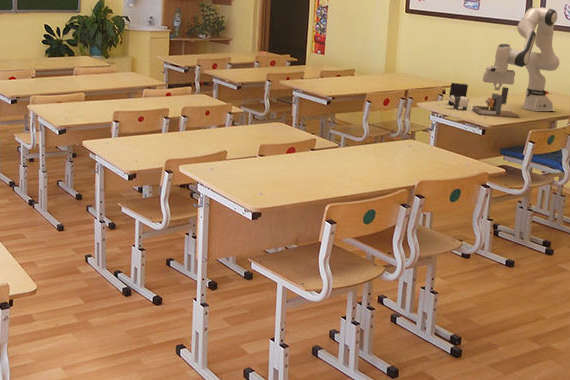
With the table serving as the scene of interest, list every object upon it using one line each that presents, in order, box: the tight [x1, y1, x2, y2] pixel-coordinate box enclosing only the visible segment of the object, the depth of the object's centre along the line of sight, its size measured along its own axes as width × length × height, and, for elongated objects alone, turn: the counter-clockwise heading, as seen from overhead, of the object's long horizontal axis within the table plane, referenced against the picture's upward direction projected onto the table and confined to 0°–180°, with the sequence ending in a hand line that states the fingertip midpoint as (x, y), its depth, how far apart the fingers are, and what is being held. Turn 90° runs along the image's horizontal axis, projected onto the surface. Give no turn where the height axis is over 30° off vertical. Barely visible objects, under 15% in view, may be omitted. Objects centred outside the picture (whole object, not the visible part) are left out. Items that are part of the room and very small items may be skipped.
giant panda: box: [446, 95, 470, 111], centre depth 548 cm, size 15×6×10 cm, turn 91°
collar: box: [486, 97, 494, 108], centre depth 541 cm, size 2×6×5 cm, turn 4°
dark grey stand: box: [471, 93, 520, 119], centre depth 542 cm, size 27×16×13 cm, turn 94°
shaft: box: [485, 86, 509, 105], centre depth 540 cm, size 13×3×11 cm, turn 94°
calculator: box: [448, 82, 469, 106], centre depth 561 cm, size 11×4×15 cm, turn 84°
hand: (496, 90), depth 539 cm, fingers closed
